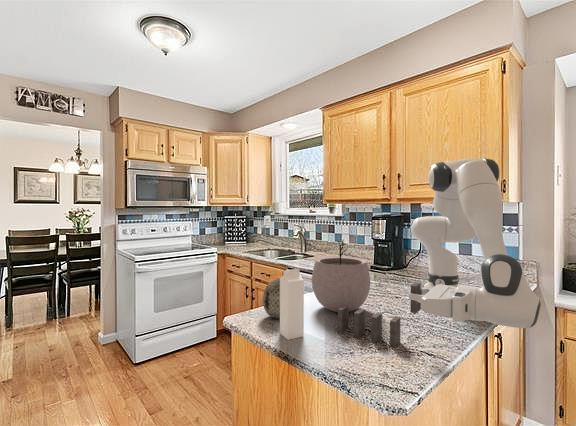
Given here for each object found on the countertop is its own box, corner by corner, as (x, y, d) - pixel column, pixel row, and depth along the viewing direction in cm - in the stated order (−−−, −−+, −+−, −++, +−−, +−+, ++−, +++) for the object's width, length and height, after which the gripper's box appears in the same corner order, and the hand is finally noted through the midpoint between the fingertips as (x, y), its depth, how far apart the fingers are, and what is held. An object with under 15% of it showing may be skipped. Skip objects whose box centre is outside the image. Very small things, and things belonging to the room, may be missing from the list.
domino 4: (395, 340, 101) (395, 316, 100) (400, 342, 100) (400, 317, 99) (389, 346, 97) (390, 320, 96) (395, 347, 96) (395, 321, 95)
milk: (279, 333, 106) (279, 268, 106) (295, 330, 109) (295, 267, 109) (288, 340, 101) (287, 272, 101) (304, 336, 104) (303, 270, 103)
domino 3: (377, 336, 104) (377, 312, 104) (381, 337, 103) (382, 313, 103) (371, 341, 100) (371, 316, 100) (376, 342, 99) (376, 317, 99)
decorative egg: (256, 318, 121) (256, 279, 121) (277, 310, 130) (277, 274, 129) (278, 325, 113) (278, 284, 113) (299, 317, 122) (299, 278, 122)
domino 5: (415, 308, 97) (415, 282, 97) (420, 309, 96) (420, 283, 96) (410, 312, 93) (410, 285, 93) (416, 313, 92) (416, 286, 92)
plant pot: (332, 324, 115) (332, 242, 114) (301, 305, 136) (301, 236, 136) (382, 314, 125) (383, 239, 124) (346, 298, 147) (347, 234, 146)
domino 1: (344, 327, 111) (344, 305, 111) (348, 328, 110) (348, 306, 110) (337, 332, 107) (337, 309, 107) (341, 333, 106) (342, 310, 106)
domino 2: (360, 331, 108) (360, 308, 108) (364, 333, 107) (364, 309, 107) (353, 336, 104) (354, 312, 104) (358, 337, 103) (358, 313, 103)
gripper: (470, 283, 95) (421, 277, 103) (458, 299, 78) (402, 290, 87) (469, 304, 95) (421, 296, 103) (458, 324, 78) (402, 312, 87)
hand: (412, 293), depth 95 cm, fingers closed on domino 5, 5 cm apart
